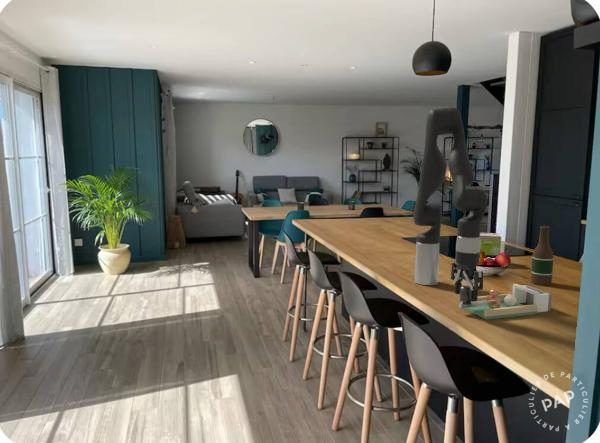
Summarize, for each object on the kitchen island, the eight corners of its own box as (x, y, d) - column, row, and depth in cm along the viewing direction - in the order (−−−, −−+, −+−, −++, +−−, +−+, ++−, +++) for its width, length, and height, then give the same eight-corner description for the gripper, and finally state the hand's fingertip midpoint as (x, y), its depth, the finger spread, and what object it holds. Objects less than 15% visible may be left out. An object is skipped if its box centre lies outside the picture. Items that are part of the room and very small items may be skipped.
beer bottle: (526, 282, 197) (530, 225, 194) (540, 280, 200) (544, 224, 197) (541, 286, 190) (545, 228, 187) (556, 284, 193) (560, 227, 190)
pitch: (460, 306, 166) (460, 298, 165) (508, 301, 171) (508, 293, 171) (485, 319, 152) (486, 310, 152) (537, 314, 158) (537, 305, 157)
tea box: (467, 265, 229) (468, 234, 227) (463, 260, 239) (464, 231, 236) (499, 266, 226) (501, 235, 224) (494, 261, 236) (496, 232, 234)
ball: (501, 304, 164) (502, 293, 164) (511, 303, 165) (511, 292, 165) (509, 308, 160) (510, 297, 160) (519, 307, 161) (519, 296, 161)
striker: (455, 307, 160) (456, 285, 159) (491, 303, 164) (492, 282, 163) (464, 311, 155) (465, 289, 154) (501, 308, 159) (502, 285, 158)
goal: (511, 302, 170) (513, 283, 169) (526, 301, 172) (527, 282, 171) (535, 312, 159) (536, 292, 158) (550, 311, 161) (552, 291, 160)
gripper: (445, 246, 161) (443, 292, 163) (471, 254, 147) (468, 304, 150) (464, 245, 163) (462, 290, 165) (491, 253, 149) (489, 302, 152)
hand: (465, 297), depth 157 cm, fingers open, 8 cm apart
